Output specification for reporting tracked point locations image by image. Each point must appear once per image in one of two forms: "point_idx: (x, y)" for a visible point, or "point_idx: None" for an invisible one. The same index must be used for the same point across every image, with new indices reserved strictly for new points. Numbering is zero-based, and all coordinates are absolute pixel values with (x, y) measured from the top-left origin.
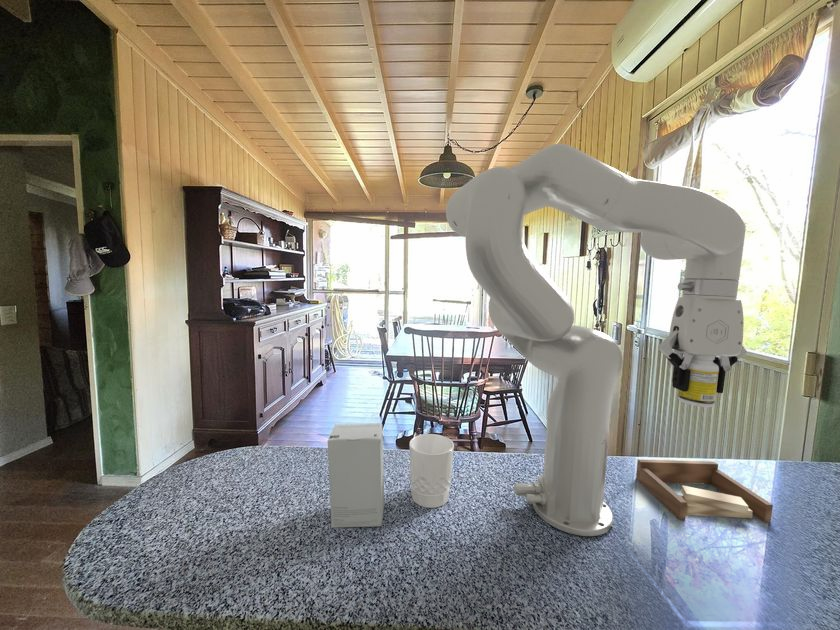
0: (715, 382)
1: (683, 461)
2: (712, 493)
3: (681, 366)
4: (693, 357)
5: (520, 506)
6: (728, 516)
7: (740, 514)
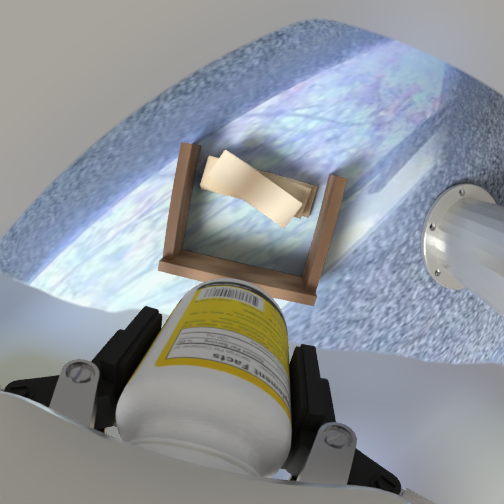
0: (190, 327)
1: None
2: (250, 194)
3: (354, 435)
4: None
5: None
6: None
7: None
